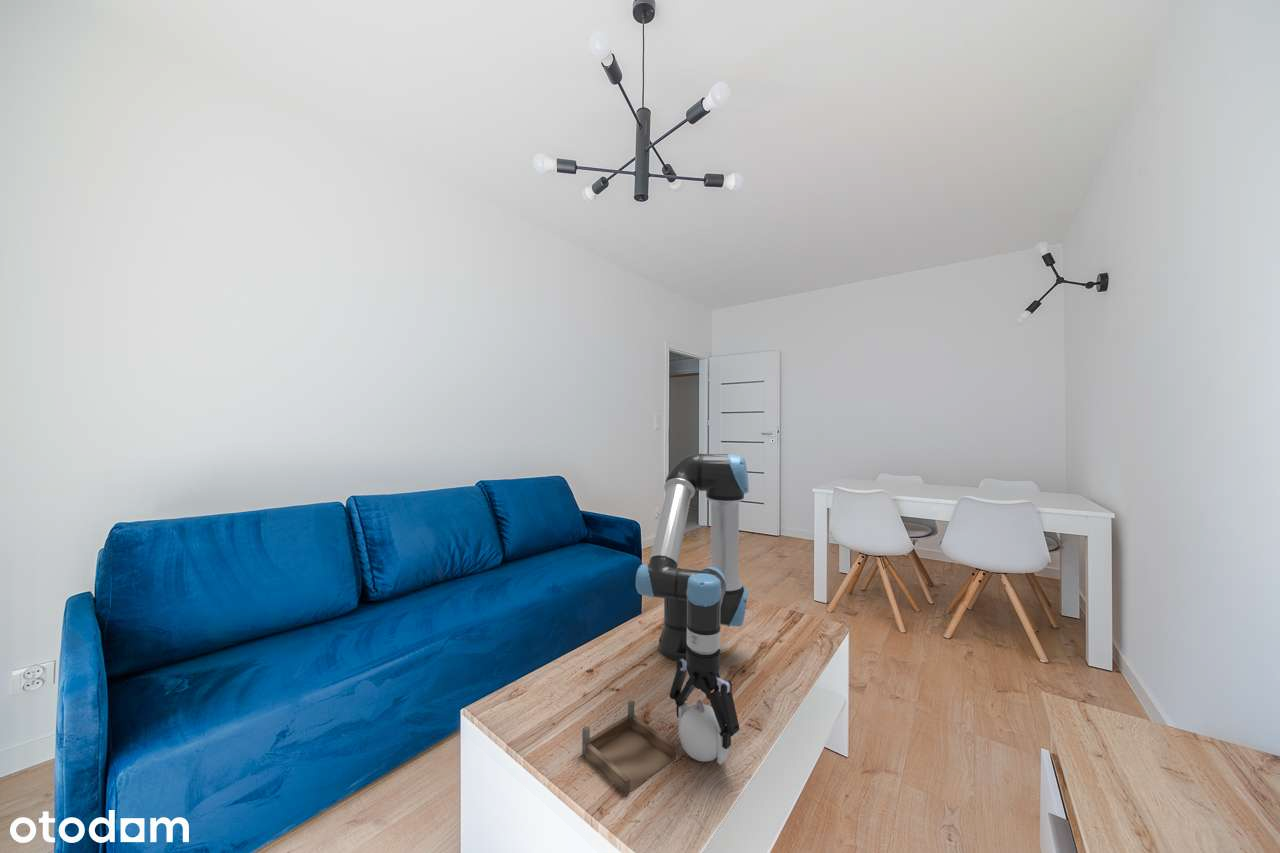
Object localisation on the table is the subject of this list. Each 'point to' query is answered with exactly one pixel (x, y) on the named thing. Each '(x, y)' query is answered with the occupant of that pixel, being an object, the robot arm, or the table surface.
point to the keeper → (628, 751)
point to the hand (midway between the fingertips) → (702, 746)
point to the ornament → (699, 732)
